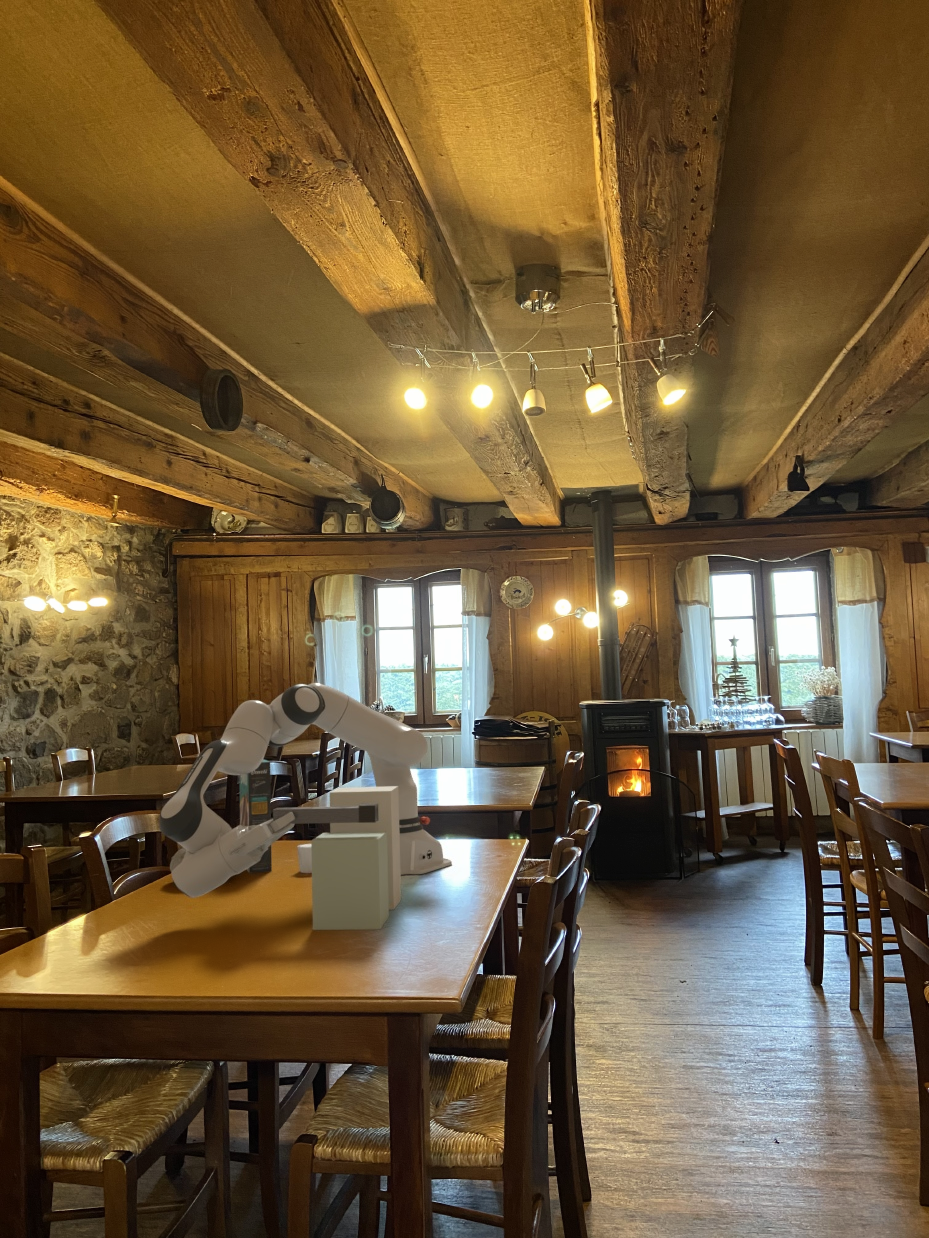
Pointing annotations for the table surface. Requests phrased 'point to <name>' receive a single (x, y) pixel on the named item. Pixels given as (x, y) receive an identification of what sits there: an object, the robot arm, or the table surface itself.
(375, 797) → the tall post
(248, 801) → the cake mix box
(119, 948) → the table surface
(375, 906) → the low post
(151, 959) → the table surface
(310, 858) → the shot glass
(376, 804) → the metal bar
